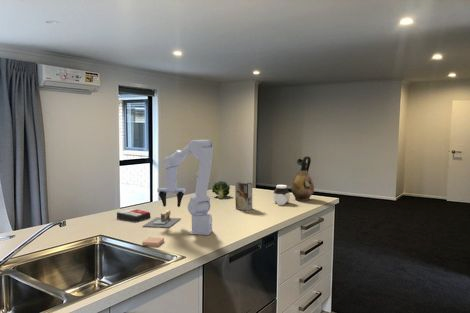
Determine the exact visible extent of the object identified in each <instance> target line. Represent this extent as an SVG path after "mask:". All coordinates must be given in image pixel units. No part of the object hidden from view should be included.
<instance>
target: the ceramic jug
mask: <svg viewBox="0 0 470 313" xmlns="http://www.w3.org/2000/svg"><path fill="white" fill-rule="evenodd" d="M311 158H312V157H310V156H308V155H307V156H304V157H303V158H302V159H301V158H299V159H297V160H296V164H297V165H299V166H301V167H300V168H301V169H300V170H299V171H298V173H297V174H296V175H295V177H294V178H293V180H292V183H291V187H290V188H291V193H292V195H293V197H294V198H295V201H301V202H306V201H309V200H310V198H311V197H312V195H313V194H314V193H315V184H314V181H313V179H312V177H311V175H310V173H309V169H310V167H311V166H310V165H311V162H312V161H311Z"/></svg>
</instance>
